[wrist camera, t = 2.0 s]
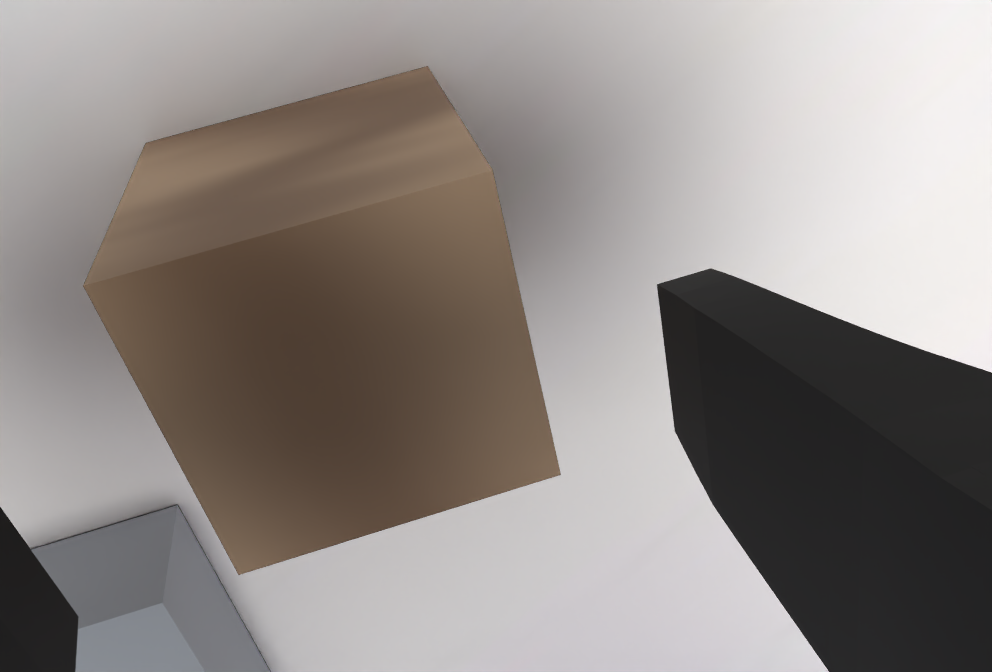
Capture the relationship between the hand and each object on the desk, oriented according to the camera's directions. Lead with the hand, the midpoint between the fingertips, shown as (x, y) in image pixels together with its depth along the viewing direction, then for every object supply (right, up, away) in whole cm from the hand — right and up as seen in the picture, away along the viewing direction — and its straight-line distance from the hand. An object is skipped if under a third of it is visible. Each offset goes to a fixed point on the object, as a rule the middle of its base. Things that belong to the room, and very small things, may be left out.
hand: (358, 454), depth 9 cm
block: (-1, +3, +5) cm, 6 cm away
